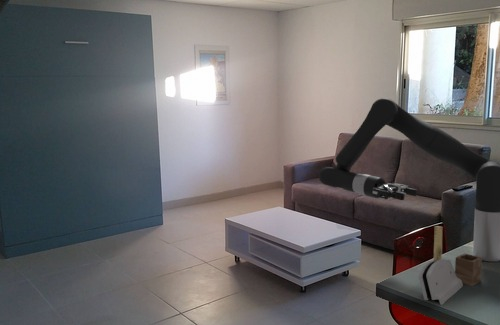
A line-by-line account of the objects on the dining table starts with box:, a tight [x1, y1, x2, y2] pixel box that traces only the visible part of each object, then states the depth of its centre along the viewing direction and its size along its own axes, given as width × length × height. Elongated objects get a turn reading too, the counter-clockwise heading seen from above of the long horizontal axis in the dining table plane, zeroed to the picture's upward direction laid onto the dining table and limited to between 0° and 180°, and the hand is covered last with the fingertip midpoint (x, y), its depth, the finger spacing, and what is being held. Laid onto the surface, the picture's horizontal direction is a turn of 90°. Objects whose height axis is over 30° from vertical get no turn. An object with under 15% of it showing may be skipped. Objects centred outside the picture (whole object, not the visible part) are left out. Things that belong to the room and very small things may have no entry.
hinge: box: [418, 258, 464, 306], centre depth 134 cm, size 17×5×10 cm, turn 136°
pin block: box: [454, 253, 483, 287], centre depth 140 cm, size 5×5×8 cm
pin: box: [433, 225, 444, 261], centre depth 147 cm, size 2×2×15 cm
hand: (410, 195), depth 152 cm, fingers open, 8 cm apart
